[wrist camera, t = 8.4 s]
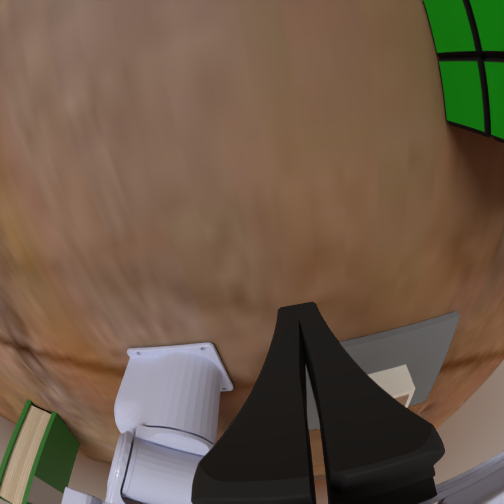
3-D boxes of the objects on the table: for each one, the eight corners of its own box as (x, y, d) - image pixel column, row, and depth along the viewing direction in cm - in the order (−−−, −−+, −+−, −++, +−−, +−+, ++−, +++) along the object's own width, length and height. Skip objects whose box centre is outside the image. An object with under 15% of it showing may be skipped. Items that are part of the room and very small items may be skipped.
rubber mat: (292, 427, 36) (292, 432, 36) (272, 353, 27) (272, 359, 27) (423, 396, 34) (425, 401, 33) (456, 310, 25) (460, 315, 24)
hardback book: (27, 399, 39) (-8, 493, 19) (56, 412, 40) (23, 513, 19) (54, 433, 48) (30, 511, 27) (79, 444, 49) (58, 525, 28)
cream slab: (333, 381, 29) (333, 413, 33) (339, 410, 26) (337, 437, 30) (405, 364, 28) (395, 398, 32) (416, 390, 25) (402, 421, 29)
